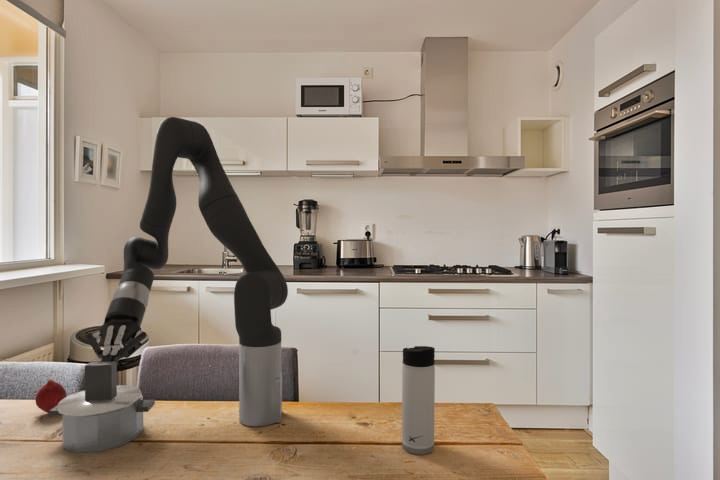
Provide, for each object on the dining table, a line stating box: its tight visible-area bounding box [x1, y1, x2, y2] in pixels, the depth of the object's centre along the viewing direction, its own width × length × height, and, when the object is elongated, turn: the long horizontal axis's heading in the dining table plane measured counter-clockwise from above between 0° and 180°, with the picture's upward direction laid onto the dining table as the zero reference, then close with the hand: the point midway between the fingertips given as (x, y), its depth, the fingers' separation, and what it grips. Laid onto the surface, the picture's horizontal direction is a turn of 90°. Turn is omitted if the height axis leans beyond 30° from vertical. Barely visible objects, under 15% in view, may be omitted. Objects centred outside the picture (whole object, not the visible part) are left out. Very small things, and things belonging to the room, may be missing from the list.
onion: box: [35, 378, 67, 414], centre depth 102 cm, size 6×6×8 cm
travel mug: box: [401, 345, 436, 456], centre depth 87 cm, size 6×7×20 cm
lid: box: [58, 361, 142, 417], centre depth 90 cm, size 15×15×8 cm
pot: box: [49, 393, 156, 454], centre depth 91 cm, size 19×14×7 cm
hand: (105, 374), depth 92 cm, fingers closed
